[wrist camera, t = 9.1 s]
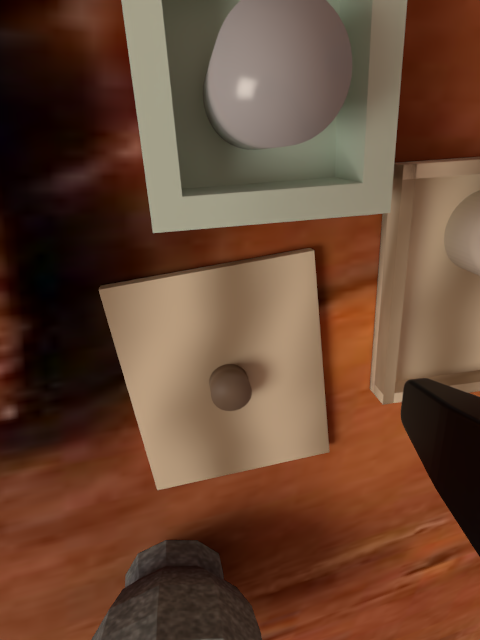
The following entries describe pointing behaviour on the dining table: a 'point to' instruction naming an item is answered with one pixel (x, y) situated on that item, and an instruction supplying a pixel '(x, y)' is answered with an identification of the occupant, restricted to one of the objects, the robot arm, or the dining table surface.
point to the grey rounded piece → (277, 73)
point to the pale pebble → (465, 234)
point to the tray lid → (223, 365)
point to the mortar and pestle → (178, 598)
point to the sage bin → (264, 164)
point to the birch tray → (425, 284)
